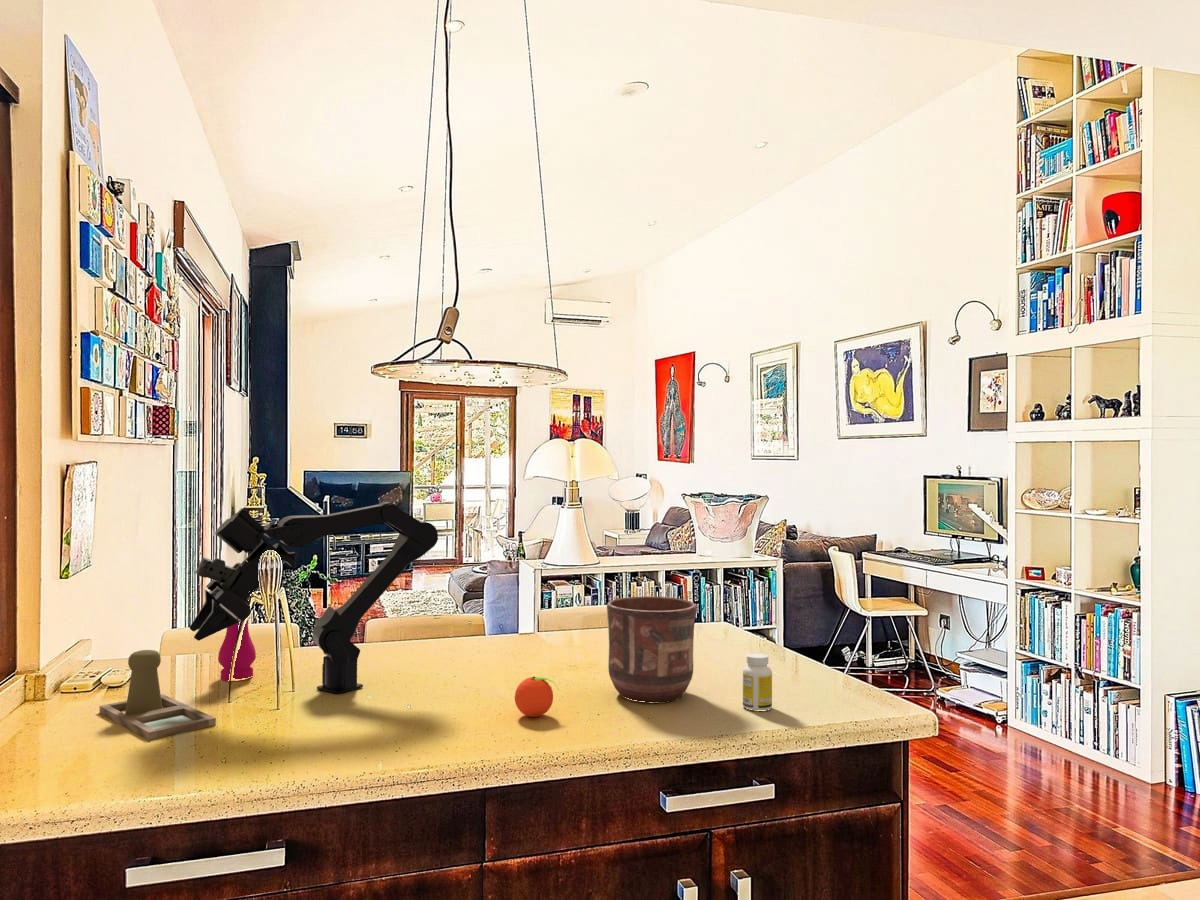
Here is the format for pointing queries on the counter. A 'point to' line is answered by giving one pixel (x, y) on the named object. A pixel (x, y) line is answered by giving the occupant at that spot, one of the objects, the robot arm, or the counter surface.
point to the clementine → (534, 696)
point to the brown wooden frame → (159, 718)
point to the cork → (144, 682)
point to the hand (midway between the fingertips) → (193, 634)
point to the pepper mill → (244, 654)
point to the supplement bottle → (757, 683)
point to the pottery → (651, 647)
